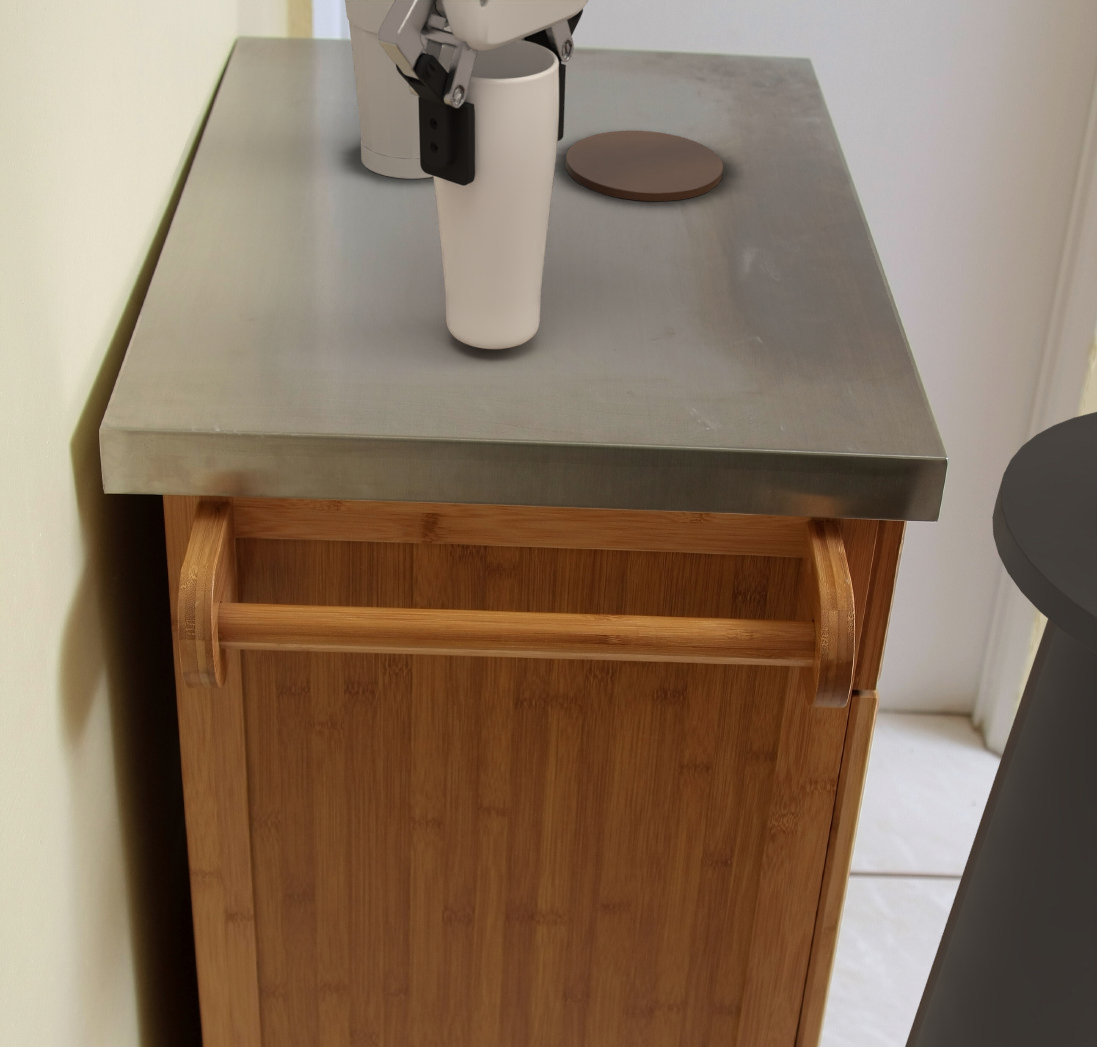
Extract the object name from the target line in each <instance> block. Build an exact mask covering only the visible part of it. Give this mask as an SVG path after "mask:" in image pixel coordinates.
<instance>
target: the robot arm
mask: <svg viewBox="0 0 1097 1047" xmlns="http://www.w3.org/2000/svg"><path fill="white" fill-rule="evenodd" d="M588 2H589V0H394V2H393V4H392V6H391V8H390V10H389V12H388V13H387V15H386V17H385V19H384V21H383V23H382V25H381V26H380V29H379V31H378V41H379V43H380V45H381V46H382V47H383V49H384V50H385V52H386V53H387V54H388V56H389V57H390V58H391V60H392V61H393V62H394V63H395V64H396V68H397V71H398V72H399V74H400V75H401V76H402V77H403V78H404V79H405V80H406V81H407V83H408V84H409V90H410V92H411V94H412V95H415V96H418V103H419V138H420V166H421V169H422V170H423V171H424V172H425V173H427V174H430V175H433V176H436V177H438V178H441V179H444V180H447V181H450V182H453V183H456V184H459V185H462V186H465V185H467V184H469V183H472V182H473V181H474V177H475V109H474V104H472V103H469V102H465V98H466V95H467V91H468V87H469V84H470V80H471V76H472V72H473V68H474V65H475V61H476V57H477V53H478V50H480V51H488V50H492V49H495V48H498V47H501V46H504V45H506V44H509V43H512V42H514V41H517V40H524V41H528V42H532V43H535V44H538V45H541V46H543V47H545V48H547V49H549V50H551V51H552V52H553V53H554V54H555V55H556V56H557V58H558V61H559V127H558V142H560V141H561V140H562V139H564V133H565V107H566V106H565V105H566V104H565V103H566V101H565V100H566V72H567V71H566V70H567V65H566V64H564V63H567V62H569V61H570V59H571V58H572V57H573V56H572V55H573V54H574V46H575V44H574V40H573V37H572V36H573V35H574V33H575V30H576V28H577V26H578V24H579V23H580V20H581V18H582V16H583V14H584V8H585V6H586V5H587V4H588ZM448 26H450V28H451V31H452V32H449V31H446V30H444V28H445V27H448ZM442 45H443V46H447V47H450V48H454V52H453V56H452V60H451V64H450V68H449V71H448V72H447V71H446V70H445V69H444V67H443V66H442V65H441V64H440V63H439V61H438V60H439V56H440V52H441V48H442ZM562 62H563V63H562Z"/></svg>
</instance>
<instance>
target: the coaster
mask: <svg viewBox="0 0 1097 1047" xmlns="http://www.w3.org/2000/svg"><path fill="white" fill-rule="evenodd" d="M565 168H566V169H565V170H566V171H567V173H568V175H569V176H570V177H571V178H572V179H573V180H574V181H576V182H577V183H578V184H580V185H582V186H583V187H585V188H587V189H590V190H592V191H595V192H597V193H599V194H603V195H606V196H611V197H615V198H619V199H624V200H632V201H639V202H641V201H642V202H671V201H672V202H673V201H679V200H685V199H690V198H695V197H698V196H701V195H704V194H706V193H708V192H710V191H711V190H713V189H715V188H716V187H717V186H718V185H719V184H720V182H721V181H722V178H723V173H724V172H723V171H724V165H723V161H722V158H720V156H719V155H718V154H717V153H716V152H715V151H713V150H712V149H710V148H709V147H708V146H706V145H704V144H702V143H700V142H697V141H694V140H692V139H689V138H686V137H684V136H680V135H675V134H671V133H665V132H658V131H652V130H651V131H650V130H616V131H608V132H600V133H596V134H593V135H589V136H587V137H584V138H582V139H579V140H578V141H576V142H575V143H573V144H572V145H571V146H570V147H569V148H568V150H567V152H566V156H565Z"/></svg>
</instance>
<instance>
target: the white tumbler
mask: <svg viewBox="0 0 1097 1047" xmlns="http://www.w3.org/2000/svg"><path fill="white" fill-rule="evenodd" d="M453 52H454V48H450V47H447V46H443V45H442V48H441V52H440V56H439V60H438V61H439V63H440V64H441V65H442V66H443V67H444V69H445V70H446V71H447V72H448V71H449V68H450V64H451V60H452V56H453ZM465 102H469V103H472V104H474V109H475V177H474V181H473V182H472V183H469V184H467V185H465V186H462V185H459V184H456V183H453V182H450V181H447V180H444V179H441V178H438V177H436V176H433V177H432V178H433V185H434V187H433V188H434V194H435V195H434V196H435V204H436V213H437V214H436V215H437V223H438V233H439V243H440V252H441V262H442V271H443V272H442V273H443V281H444V292H445V293H444V294H445V295H444V296H445V322H446V326H447V329H448V331H449V333H450V334H451V336H452V337H454V338H455V339H456V340H458V341H459V342H461V343H463V344H464V345H467V346H470V347H473V348H479V349H483V350H484V349H485V350H503V349H510V348H514V347H518V346H520V345H523V344H525V343H526V342H528V341H530V340H531V339H533V337H534V336H535V335H536V334H537V331H538V330H539V327H540V322H541V298H542V297H541V296H542V286H543V277H544V276H543V275H544V266H545V258H546V257H545V256H546V248H547V239H548V232H549V223H550V215H551V214H550V213H551V205H552V198H553V188H554V181H555V180H554V178H555V172H556V164H557V163H556V162H557V152H558V142H559V141H558V127H559V61H558V58H557V56H556V55H555V54H554V53H553V52H552V51H551V50H549V49H547V48H545V47H543V46H541V45H538V44H535V43H532V42H528V41H524V40H517V41H514V42H512V43H509V44H506V45H504V46H501V47H498V48H495V49H492V50H488V51H480V50H478V53H477V57H476V61H475V65H474V68H473V72H472V76H471V80H470V84H469V87H468V91H467V95H466V98H465Z"/></svg>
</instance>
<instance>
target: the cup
mask: <svg viewBox="0 0 1097 1047" xmlns="http://www.w3.org/2000/svg"><path fill="white" fill-rule="evenodd" d="M393 2H394V0H344V4H345V13H346V18H347V21H348V25H349V26H348V27H349V34H350V35H349V36H350V43H351V52H352V62H353V72H354V82H355V91H356V101H357V107H358V117H359V118H358V119H359V126H360V135H361V136H360V159H361V163H362V165H363V166H364V167H365V168H367V169H368V170H370V171H371V172H374V173H376V174H378V175H382V176H385V177H391V178H395V179H407V180H408V179H409V180H410V179H412V180H413V179H414V180H415V179H428V178H433V175H430V174H427V173H425V172H424V171H423V170H422V169H421V166H420V138H419V103H418V96H415V95H412V94H411V92H410V90H409V84H408V83H407V81H406V80H405V79H404V78H403V77H402V76H401V75H400V74H399V72H398V71H397V68H396V64H395V63H394V62H393V61H392V60H391V58H390V57H389V56H388V54H387V53H386V52H385V50H384V49H383V47H382V46H381V45H380V43H379V41H378V31H379V29H380V26H381V25H382V23H383V21H384V19H385V17H386V15H387V13H388V12H389V10H390V8H391V6H392V4H393ZM444 30H446V31H449V32H452V31H451V28H450V26H448V27H445V28H444Z"/></svg>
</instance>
